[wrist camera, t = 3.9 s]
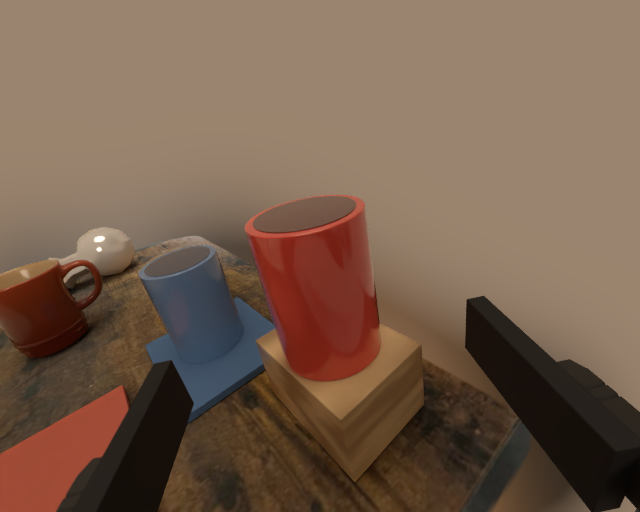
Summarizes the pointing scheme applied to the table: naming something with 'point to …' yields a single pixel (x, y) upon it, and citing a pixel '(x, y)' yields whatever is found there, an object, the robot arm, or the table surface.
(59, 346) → the mug
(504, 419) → the table surface
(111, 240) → the potion bottle
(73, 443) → the red mat
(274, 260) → the red cup
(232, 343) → the blue cup
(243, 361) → the blue mat
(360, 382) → the wooden block
